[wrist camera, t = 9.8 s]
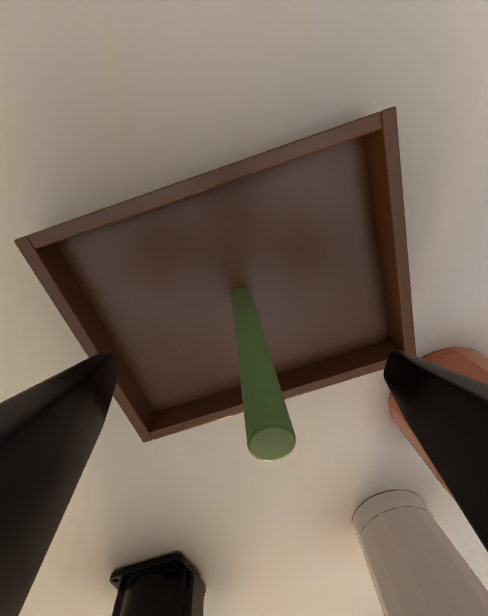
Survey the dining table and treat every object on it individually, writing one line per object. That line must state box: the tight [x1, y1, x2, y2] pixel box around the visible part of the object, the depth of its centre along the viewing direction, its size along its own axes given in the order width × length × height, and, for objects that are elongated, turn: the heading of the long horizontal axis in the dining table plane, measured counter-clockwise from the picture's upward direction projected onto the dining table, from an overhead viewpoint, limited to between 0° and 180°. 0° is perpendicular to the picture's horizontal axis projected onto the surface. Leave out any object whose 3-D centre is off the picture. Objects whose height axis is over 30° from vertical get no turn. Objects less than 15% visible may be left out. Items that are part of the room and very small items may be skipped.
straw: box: [232, 288, 296, 461], centre depth 11 cm, size 1×1×10 cm
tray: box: [14, 107, 416, 442], centre depth 15 cm, size 16×12×2 cm
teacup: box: [389, 348, 488, 498], centre depth 17 cm, size 7×7×5 cm
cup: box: [352, 490, 488, 616], centre depth 19 cm, size 8×8×12 cm
